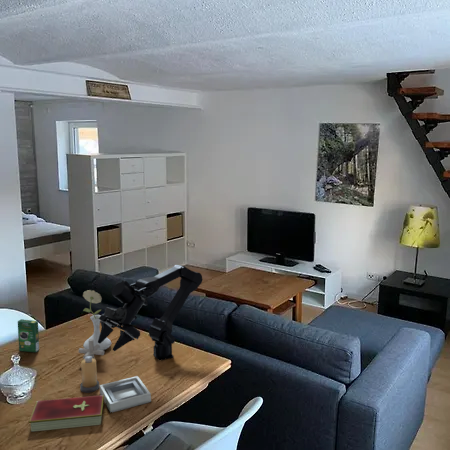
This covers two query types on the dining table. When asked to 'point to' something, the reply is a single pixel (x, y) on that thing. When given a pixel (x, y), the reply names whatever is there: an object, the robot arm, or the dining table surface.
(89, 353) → the pipe connector
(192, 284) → the robot arm
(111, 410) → the box
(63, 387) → the dining table surface
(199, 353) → the dining table surface
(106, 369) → the dining table surface
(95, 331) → the flower in vase
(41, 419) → the hardcover book
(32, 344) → the coffee box
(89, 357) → the beige bottle
